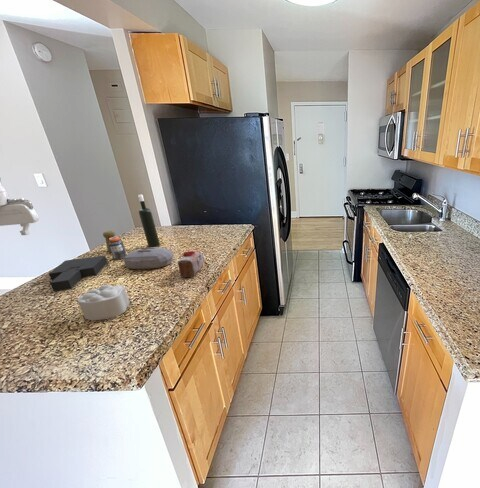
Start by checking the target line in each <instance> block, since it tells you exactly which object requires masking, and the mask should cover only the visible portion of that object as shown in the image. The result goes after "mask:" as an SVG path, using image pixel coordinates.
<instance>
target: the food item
mask: <svg viewBox="0 0 480 488" xmlns="http://www.w3.org/2000/svg"><path fill="white" fill-rule="evenodd" d="M204 261H205V257H204V253H202V252H201V251H200V250H198V249H190V250H187V251H185V252H183V253H182V257H181V258H180V259H179V260H178V261H177V265H178V272H179V276H180V277H181V278H193V277H195V275H196V274H197V272H200V271H201V268H202V266H203V263H204Z"/></svg>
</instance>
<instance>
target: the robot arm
mask: <svg viewBox="0 0 480 488" xmlns="http://www.w3.org/2000/svg"><path fill="white" fill-rule="evenodd" d="M39 220H40V216H39V214H38V213H37V211H36V210H35V208H34V205H33V202H31V201H30V200H28V199H25V198H11V197H10V195H9V193H8V191H7V189H6V188H5V187H4V186H3V185H2V181H1V178H0V227H3V226H4V227H5V226H14V225H15V226H16V225H19V226H20V227H22V230H19V233H20V236H29V235H30V232H29V227H30V224H35V223H36V222H38V221H39Z"/></svg>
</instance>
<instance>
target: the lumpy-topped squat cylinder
mask: <svg viewBox="0 0 480 488" xmlns="http://www.w3.org/2000/svg"><path fill="white" fill-rule="evenodd" d="M76 300H77V304H78V305H79V308H80V310H81V312H82V315H83V317H84V319H86V320H89V321H101V320H107V319H111V318H115V317H118V316H120V315H122V314H124V313H126V311H127V308H128V307H129V306H130V304H131V302H130V299H129V296H128V293H127V289H126V287H125V286H124V285H121V284H120V285H110V284H103V285H101V286H99V287H97V288H92V289H89V290H87V291H86V292H85V293H82V294H81V295H79V296H78V297H77V299H76Z"/></svg>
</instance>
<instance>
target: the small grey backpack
mask: <svg viewBox="0 0 480 488" xmlns="http://www.w3.org/2000/svg"><path fill="white" fill-rule="evenodd" d="M173 260H174V253H173V251H171V249H169V248H165V247H160V246H159V247H158V246H156V247H141V248H139V249H134V250H132V251H131V252H129V253H127V255H126V257H125V258H123V263H124V266H125V267H126V268H127V269H129V270H130V269H131V270H152V269H159V268H162V267H165V266H168V265H170V264H172V262H173Z"/></svg>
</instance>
